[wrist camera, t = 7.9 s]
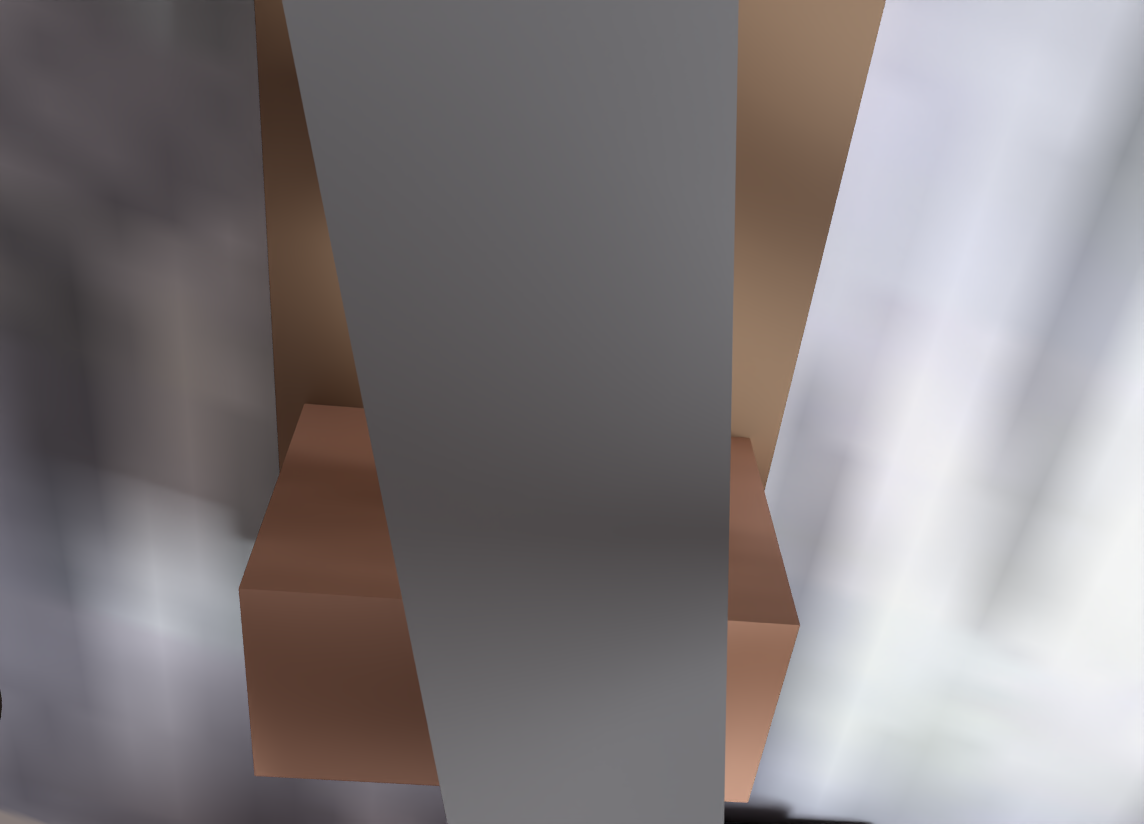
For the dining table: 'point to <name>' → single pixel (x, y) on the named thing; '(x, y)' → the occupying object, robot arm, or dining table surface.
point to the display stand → (344, 453)
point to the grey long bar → (544, 378)
